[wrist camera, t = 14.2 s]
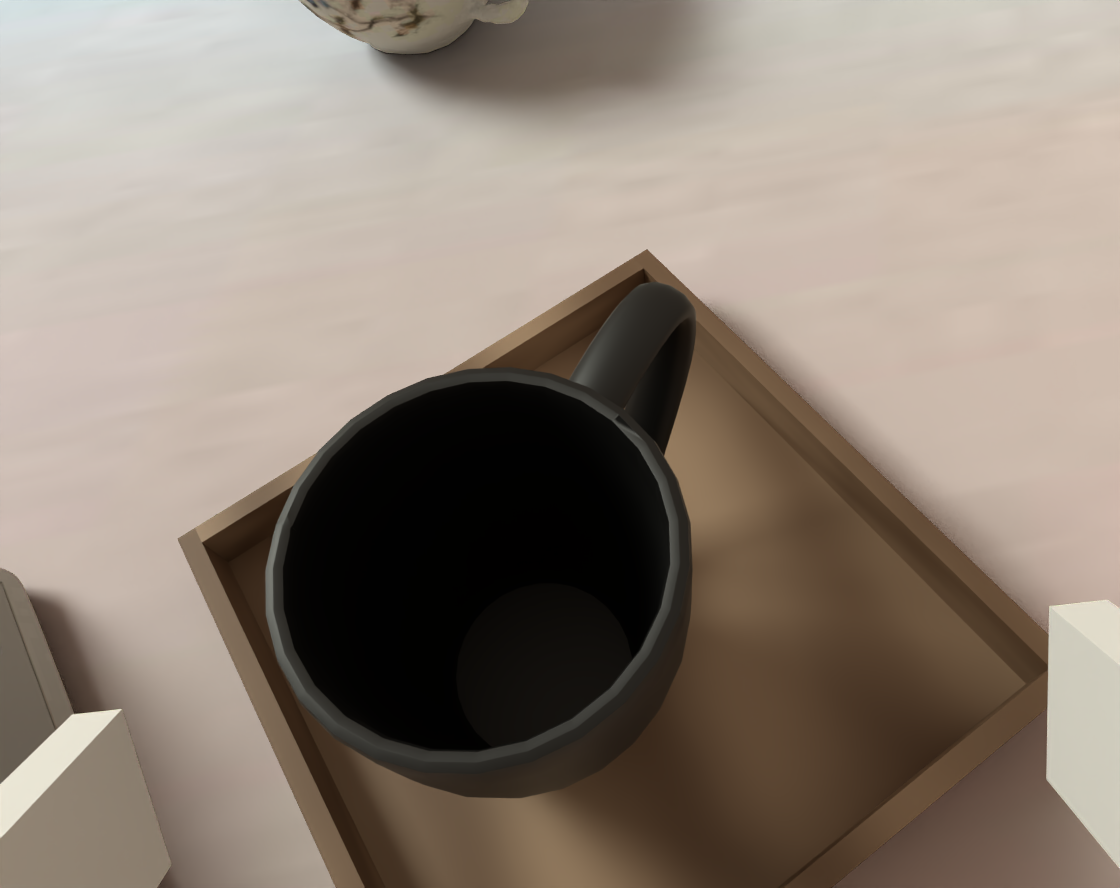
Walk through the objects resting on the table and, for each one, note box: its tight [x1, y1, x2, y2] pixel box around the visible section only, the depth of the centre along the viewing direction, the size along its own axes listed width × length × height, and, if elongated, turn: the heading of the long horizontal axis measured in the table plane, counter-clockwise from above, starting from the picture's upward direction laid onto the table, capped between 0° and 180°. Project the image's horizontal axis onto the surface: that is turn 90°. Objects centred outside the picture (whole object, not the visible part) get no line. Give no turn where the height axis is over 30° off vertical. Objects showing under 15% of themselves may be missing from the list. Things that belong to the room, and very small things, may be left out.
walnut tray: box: [178, 250, 1049, 888], centre depth 24 cm, size 18×18×2 cm
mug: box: [265, 282, 696, 798], centre depth 20 cm, size 8×12×10 cm
